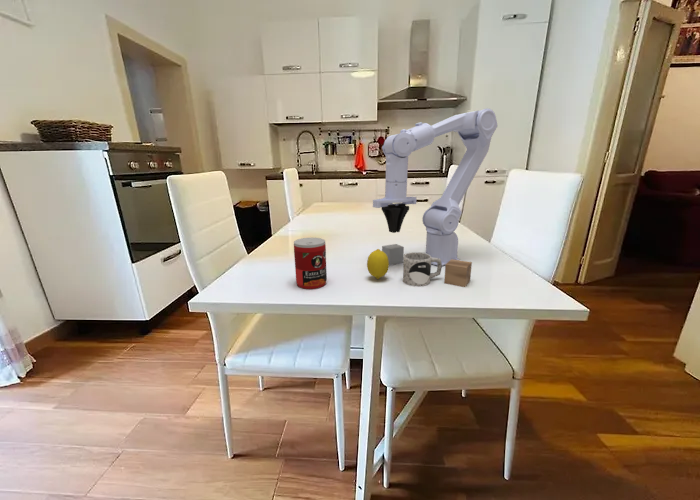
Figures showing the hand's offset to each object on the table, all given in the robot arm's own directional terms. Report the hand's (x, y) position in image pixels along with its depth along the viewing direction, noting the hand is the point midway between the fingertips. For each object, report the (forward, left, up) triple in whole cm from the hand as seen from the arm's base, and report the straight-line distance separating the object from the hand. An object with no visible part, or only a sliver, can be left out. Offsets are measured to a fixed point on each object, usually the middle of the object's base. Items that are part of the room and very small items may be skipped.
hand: (394, 231), depth 87 cm
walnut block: (-4, +18, -11) cm, 21 cm away
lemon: (+10, +4, -11) cm, 15 cm away
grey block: (-3, -4, -11) cm, 12 cm away
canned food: (+25, -4, -11) cm, 27 cm away
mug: (+2, +12, -11) cm, 16 cm away
